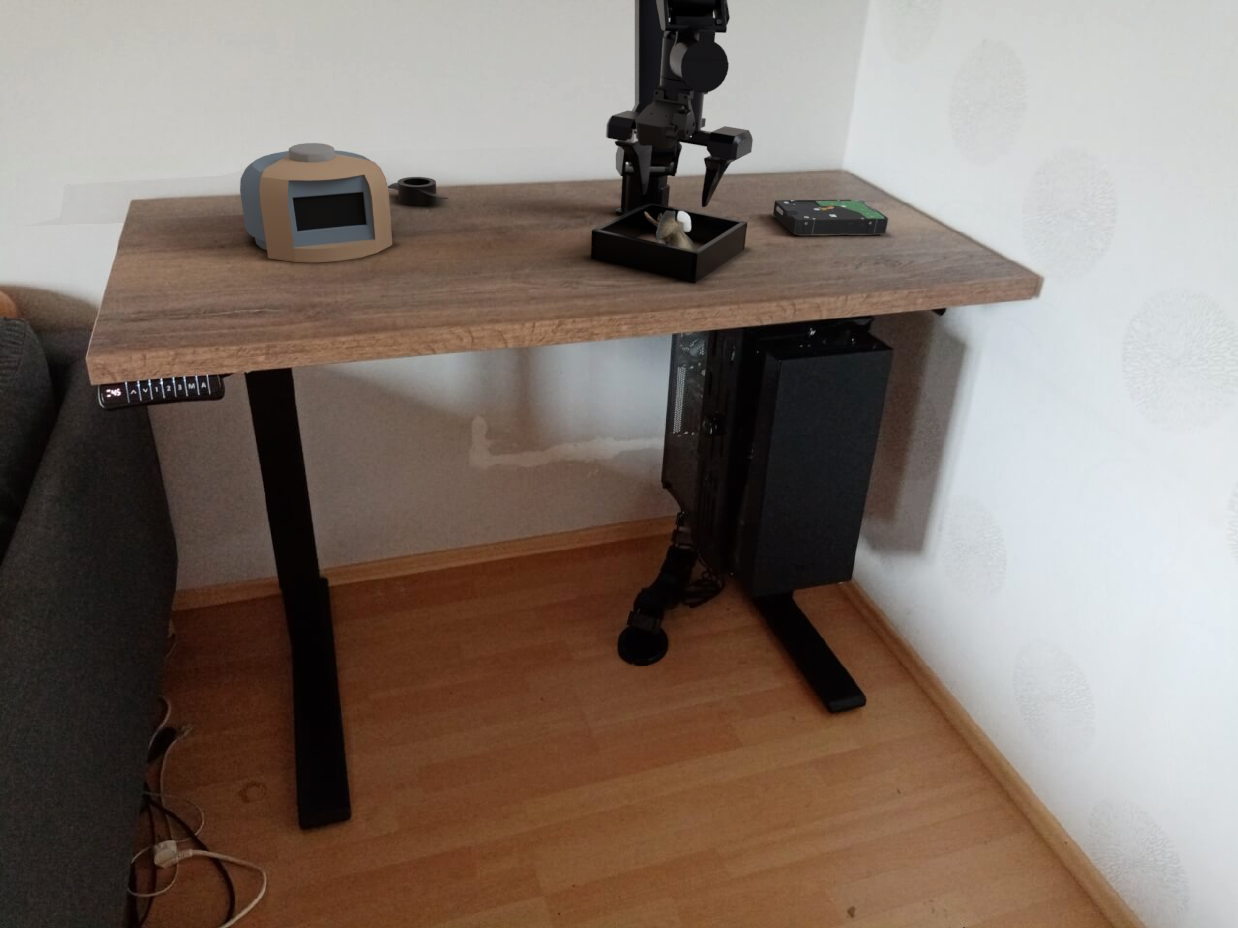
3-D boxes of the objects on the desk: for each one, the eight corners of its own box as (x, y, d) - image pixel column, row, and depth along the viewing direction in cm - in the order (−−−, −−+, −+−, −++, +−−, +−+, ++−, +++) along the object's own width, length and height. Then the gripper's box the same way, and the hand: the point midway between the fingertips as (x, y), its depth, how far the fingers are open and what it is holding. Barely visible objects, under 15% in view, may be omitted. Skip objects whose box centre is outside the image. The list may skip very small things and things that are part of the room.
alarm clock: (262, 269, 122) (248, 172, 116) (235, 223, 137) (222, 135, 131) (411, 252, 130) (405, 160, 124) (370, 211, 145) (363, 127, 139)
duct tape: (434, 190, 156) (433, 172, 155) (450, 208, 149) (450, 189, 147) (385, 193, 154) (384, 175, 152) (400, 211, 146) (399, 192, 144)
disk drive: (794, 238, 145) (887, 235, 147) (796, 219, 143) (890, 217, 146) (771, 217, 153) (859, 215, 156) (773, 199, 152) (862, 197, 155)
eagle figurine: (628, 237, 137) (643, 245, 129) (656, 192, 136) (673, 198, 127) (671, 265, 140) (688, 276, 132) (699, 222, 138) (718, 230, 130)
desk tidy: (590, 259, 132) (591, 230, 130) (646, 229, 144) (648, 202, 142) (695, 283, 126) (697, 253, 124) (744, 249, 138) (747, 222, 136)
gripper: (587, 76, 121) (583, 201, 129) (725, 97, 114) (712, 228, 122) (629, 65, 129) (623, 183, 137) (760, 84, 122) (746, 207, 130)
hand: (673, 200), depth 131 cm, fingers open, 9 cm apart
